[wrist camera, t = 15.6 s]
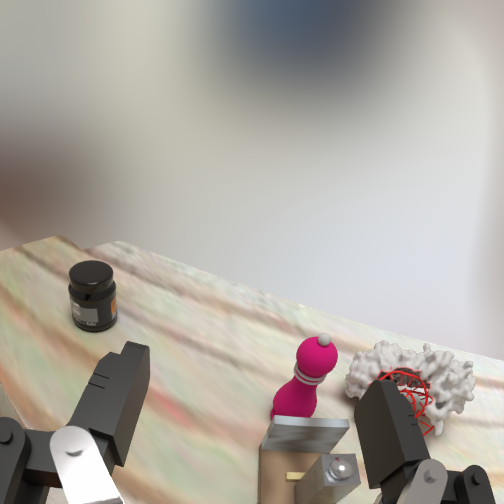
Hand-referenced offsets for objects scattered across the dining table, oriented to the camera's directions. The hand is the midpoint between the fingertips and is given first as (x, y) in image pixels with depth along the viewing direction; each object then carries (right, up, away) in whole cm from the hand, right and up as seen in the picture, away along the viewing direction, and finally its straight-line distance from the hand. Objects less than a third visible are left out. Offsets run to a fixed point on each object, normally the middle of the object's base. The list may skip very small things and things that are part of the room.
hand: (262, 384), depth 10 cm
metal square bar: (+8, -30, +22) cm, 38 cm away
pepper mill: (+6, -25, +39) cm, 46 cm away
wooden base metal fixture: (+6, -32, +22) cm, 39 cm away
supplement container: (-35, -10, +51) cm, 63 cm away
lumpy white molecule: (+27, -28, +41) cm, 57 cm away
